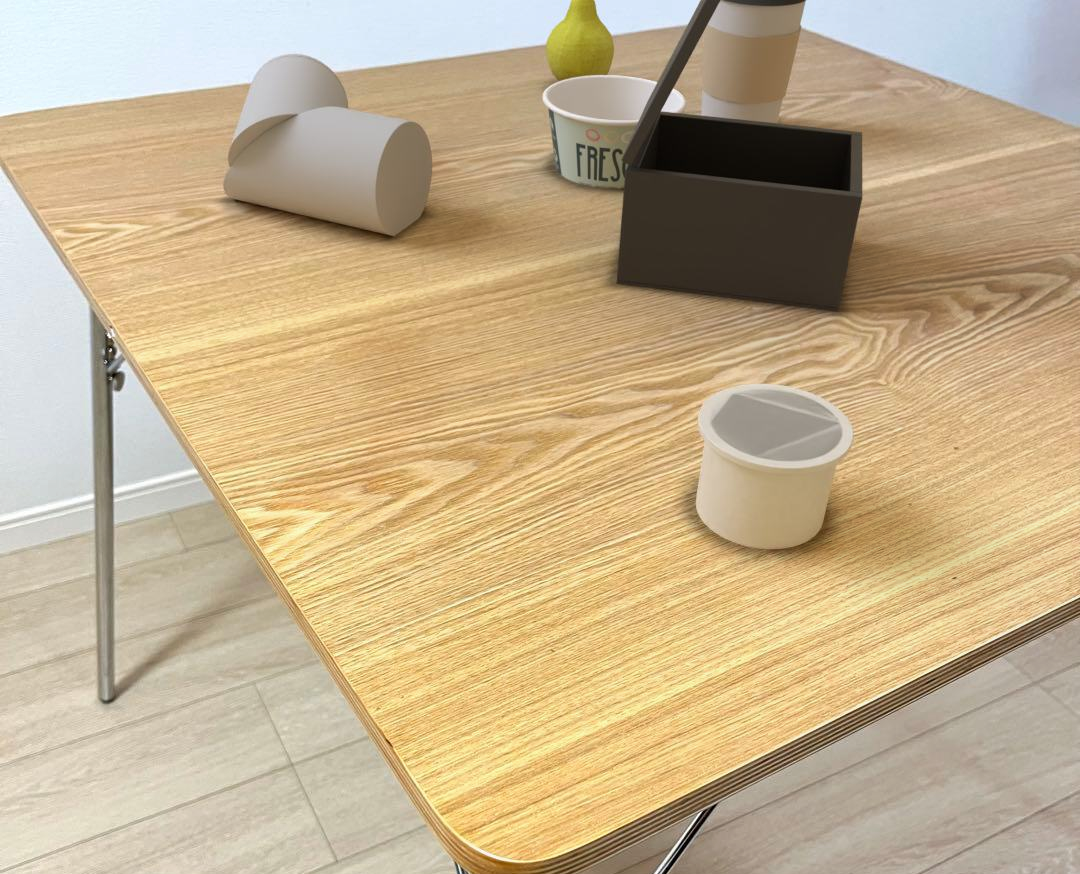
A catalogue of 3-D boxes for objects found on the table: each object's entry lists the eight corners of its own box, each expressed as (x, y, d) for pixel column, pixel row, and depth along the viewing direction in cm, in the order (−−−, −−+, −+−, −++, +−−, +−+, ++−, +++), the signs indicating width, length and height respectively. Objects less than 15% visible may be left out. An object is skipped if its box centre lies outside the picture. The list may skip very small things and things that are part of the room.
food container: (660, 146, 104) (667, 73, 100) (693, 198, 95) (703, 119, 91) (530, 150, 103) (532, 75, 98) (552, 203, 93) (555, 123, 89)
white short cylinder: (832, 486, 64) (854, 394, 60) (829, 574, 58) (853, 478, 54) (693, 465, 65) (706, 374, 61) (677, 550, 59) (690, 454, 55)
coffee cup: (762, 160, 102) (790, -21, 93) (672, 138, 106) (690, -38, 97) (799, 131, 108) (829, -41, 99) (713, 112, 112) (734, -57, 103)
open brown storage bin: (838, 244, 89) (862, 131, 83) (836, 319, 79) (862, 197, 74) (641, 221, 91) (651, 110, 86) (615, 290, 82) (625, 170, 76)
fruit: (612, 100, 114) (621, -31, 106) (543, 97, 114) (548, -34, 106) (610, 78, 119) (619, -48, 112) (545, 76, 119) (549, -50, 112)
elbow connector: (143, 195, 89) (362, 247, 83) (137, 49, 84) (370, 94, 78) (277, 171, 104) (473, 214, 97) (279, 46, 99) (485, 83, 93)
